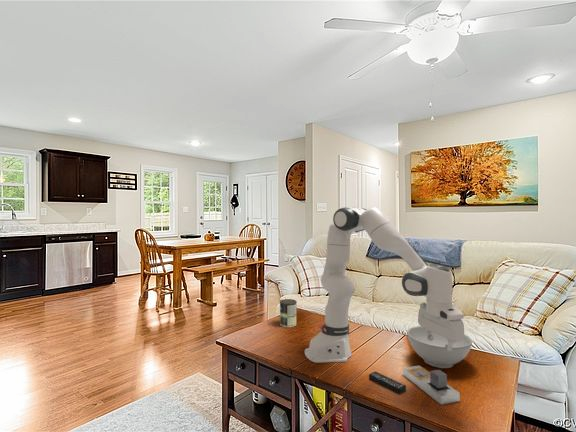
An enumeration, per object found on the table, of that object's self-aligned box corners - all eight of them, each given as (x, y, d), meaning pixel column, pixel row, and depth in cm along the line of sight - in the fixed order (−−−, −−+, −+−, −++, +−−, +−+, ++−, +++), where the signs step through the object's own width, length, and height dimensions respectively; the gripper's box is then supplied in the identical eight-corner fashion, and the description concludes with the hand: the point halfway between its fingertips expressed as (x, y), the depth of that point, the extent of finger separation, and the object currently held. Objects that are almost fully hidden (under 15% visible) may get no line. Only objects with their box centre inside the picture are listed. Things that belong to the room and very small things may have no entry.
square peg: (437, 397, 120) (437, 376, 120) (430, 392, 124) (430, 371, 124) (446, 396, 121) (446, 374, 121) (439, 390, 125) (439, 369, 125)
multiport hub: (375, 376, 136) (375, 371, 136) (406, 391, 125) (406, 385, 125) (368, 379, 133) (368, 374, 133) (399, 395, 122) (399, 389, 122)
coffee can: (278, 326, 194) (278, 303, 194) (280, 321, 204) (280, 298, 204) (295, 327, 193) (296, 303, 193) (297, 321, 203) (297, 299, 203)
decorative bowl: (464, 353, 158) (465, 329, 157) (478, 381, 132) (479, 351, 132) (406, 346, 166) (406, 323, 166) (408, 371, 140) (408, 343, 140)
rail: (441, 404, 116) (441, 395, 116) (403, 375, 137) (403, 367, 137) (459, 401, 118) (459, 392, 118) (419, 372, 139) (419, 365, 139)
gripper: (413, 301, 131) (413, 336, 131) (452, 317, 112) (452, 357, 112) (427, 300, 133) (427, 334, 133) (467, 315, 113) (467, 355, 114)
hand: (439, 345), depth 122 cm, fingers open, 8 cm apart
